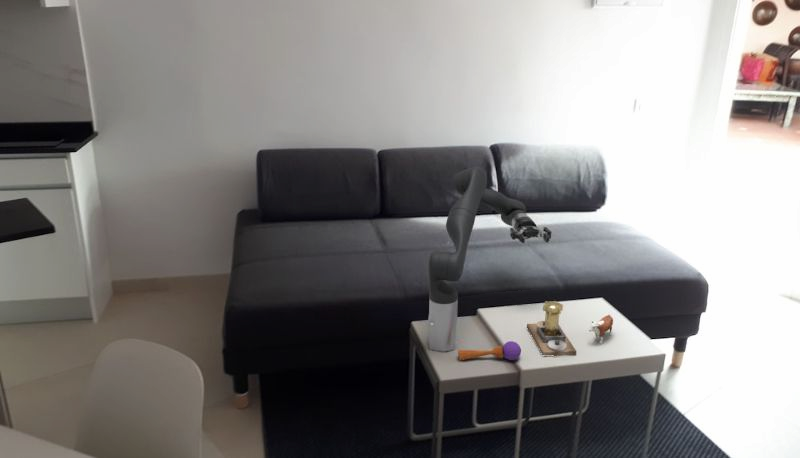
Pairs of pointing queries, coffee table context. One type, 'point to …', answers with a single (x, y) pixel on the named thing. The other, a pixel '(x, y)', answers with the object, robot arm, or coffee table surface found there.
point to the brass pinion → (552, 317)
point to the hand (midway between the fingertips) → (535, 240)
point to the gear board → (551, 340)
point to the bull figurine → (602, 327)
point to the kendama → (494, 352)
